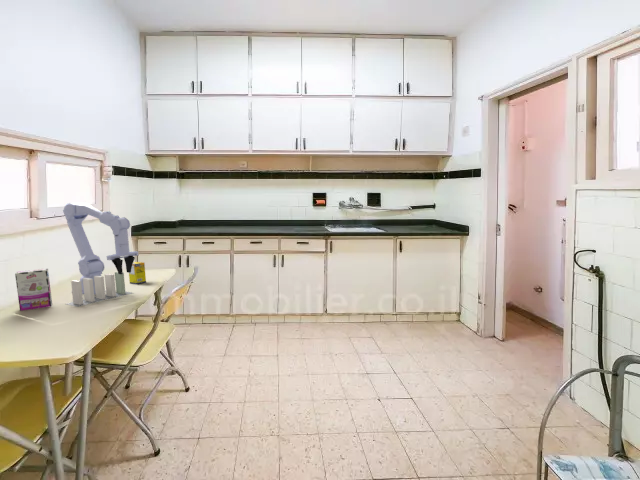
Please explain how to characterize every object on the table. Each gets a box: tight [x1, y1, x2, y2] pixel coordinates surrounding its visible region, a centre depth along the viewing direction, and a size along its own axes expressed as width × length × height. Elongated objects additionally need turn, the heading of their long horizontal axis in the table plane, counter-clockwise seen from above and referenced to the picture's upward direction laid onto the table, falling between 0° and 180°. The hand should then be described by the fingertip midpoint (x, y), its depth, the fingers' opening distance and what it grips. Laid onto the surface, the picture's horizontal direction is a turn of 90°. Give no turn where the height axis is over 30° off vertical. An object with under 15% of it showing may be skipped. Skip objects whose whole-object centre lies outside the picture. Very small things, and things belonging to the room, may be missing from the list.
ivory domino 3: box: [94, 275, 106, 299], centre depth 188 cm, size 2×5×10 cm, turn 58°
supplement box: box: [128, 261, 147, 285], centre depth 221 cm, size 6×6×11 cm
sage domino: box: [114, 271, 126, 294], centre depth 197 cm, size 2×5×10 cm, turn 55°
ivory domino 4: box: [104, 273, 116, 297], centre depth 192 cm, size 2×5×10 cm, turn 58°
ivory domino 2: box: [83, 278, 95, 302], centre depth 184 cm, size 2×5×10 cm, turn 58°
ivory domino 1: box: [70, 279, 84, 305], centre depth 180 cm, size 2×5×10 cm, turn 58°
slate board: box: [66, 291, 133, 308], centre depth 189 cm, size 26×10×1 cm, turn 148°
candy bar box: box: [14, 268, 53, 312], centre depth 176 cm, size 11×5×16 cm, turn 117°
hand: (124, 273), depth 194 cm, fingers open, 4 cm apart
